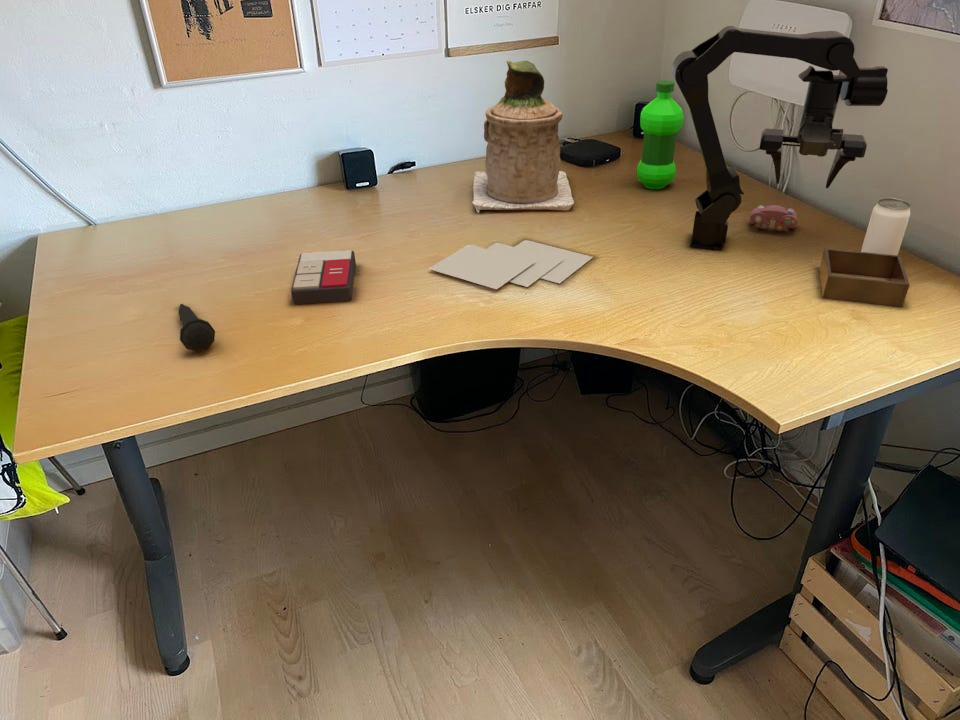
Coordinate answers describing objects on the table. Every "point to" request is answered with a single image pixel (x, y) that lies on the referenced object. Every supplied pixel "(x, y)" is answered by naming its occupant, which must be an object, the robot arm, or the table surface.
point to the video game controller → (774, 217)
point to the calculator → (324, 277)
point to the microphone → (195, 330)
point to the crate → (861, 287)
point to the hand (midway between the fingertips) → (801, 185)
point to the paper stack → (511, 264)
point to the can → (887, 226)
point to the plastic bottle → (659, 138)
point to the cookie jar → (522, 148)
